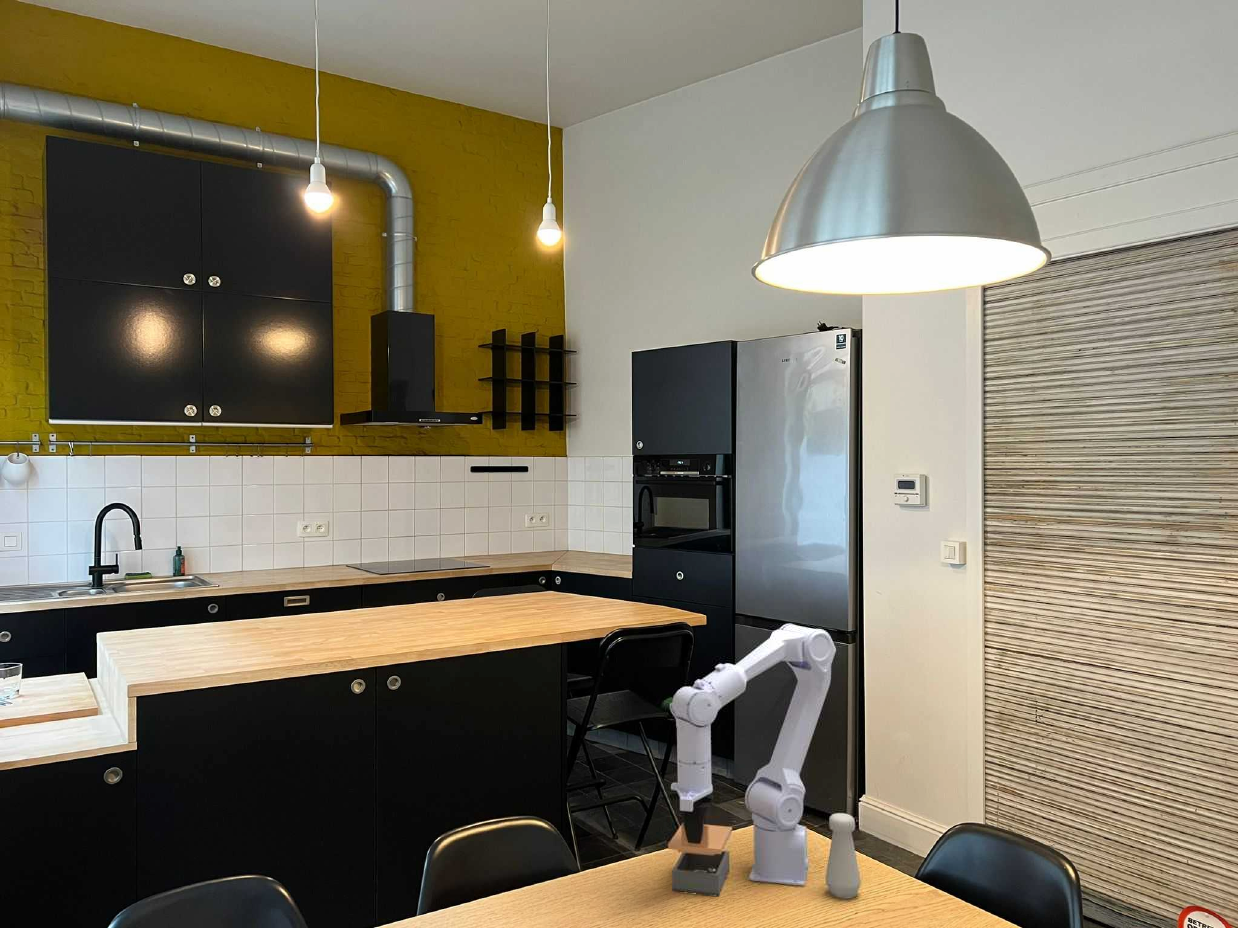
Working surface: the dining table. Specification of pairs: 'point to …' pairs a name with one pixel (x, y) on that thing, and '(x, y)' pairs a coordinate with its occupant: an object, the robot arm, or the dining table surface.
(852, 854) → the salt shaker
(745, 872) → the dining table surface
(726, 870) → the tub
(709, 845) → the lid
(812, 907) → the dining table surface
